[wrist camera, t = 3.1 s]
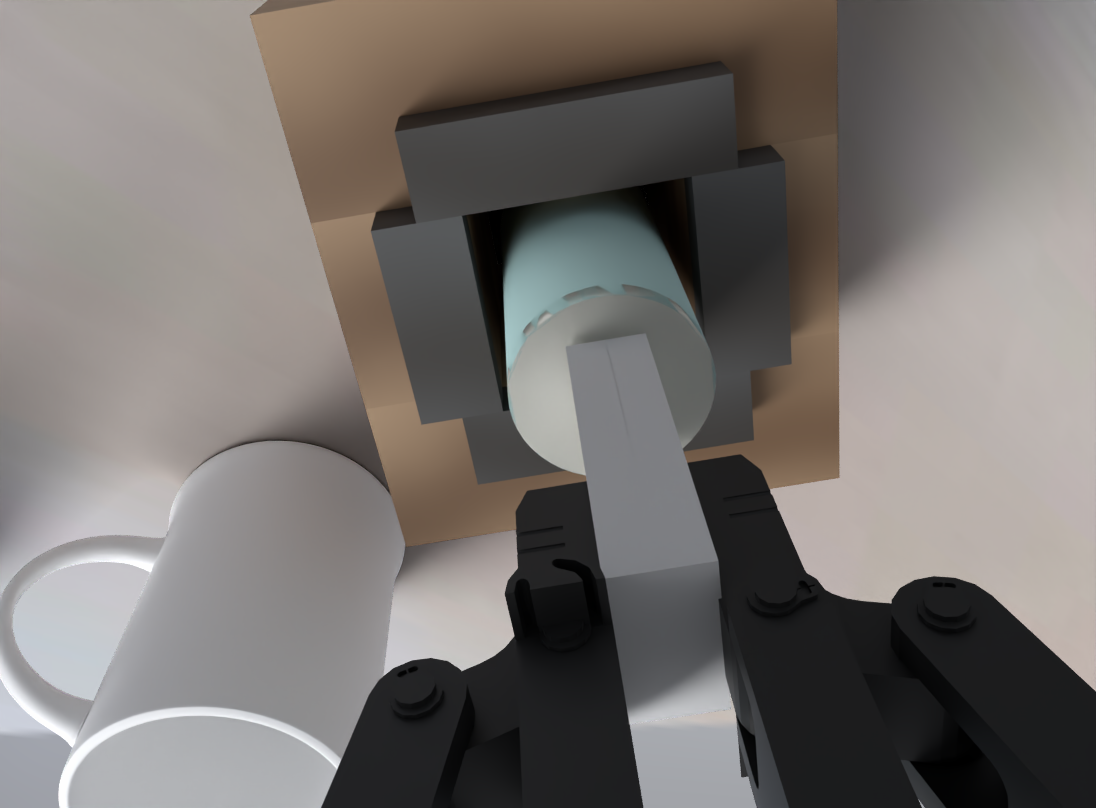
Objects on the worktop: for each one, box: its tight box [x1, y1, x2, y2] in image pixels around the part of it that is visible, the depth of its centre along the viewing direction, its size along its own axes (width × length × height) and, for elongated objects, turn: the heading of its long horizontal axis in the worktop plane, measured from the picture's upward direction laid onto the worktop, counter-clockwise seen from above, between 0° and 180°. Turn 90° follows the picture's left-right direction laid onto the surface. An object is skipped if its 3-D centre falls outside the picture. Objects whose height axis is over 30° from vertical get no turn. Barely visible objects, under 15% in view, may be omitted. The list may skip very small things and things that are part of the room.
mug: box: [0, 441, 405, 808], centre depth 31 cm, size 12×8×12 cm
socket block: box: [250, 0, 839, 547], centre depth 26 cm, size 14×12×9 cm
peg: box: [501, 186, 716, 475], centre depth 23 cm, size 4×4×9 cm
